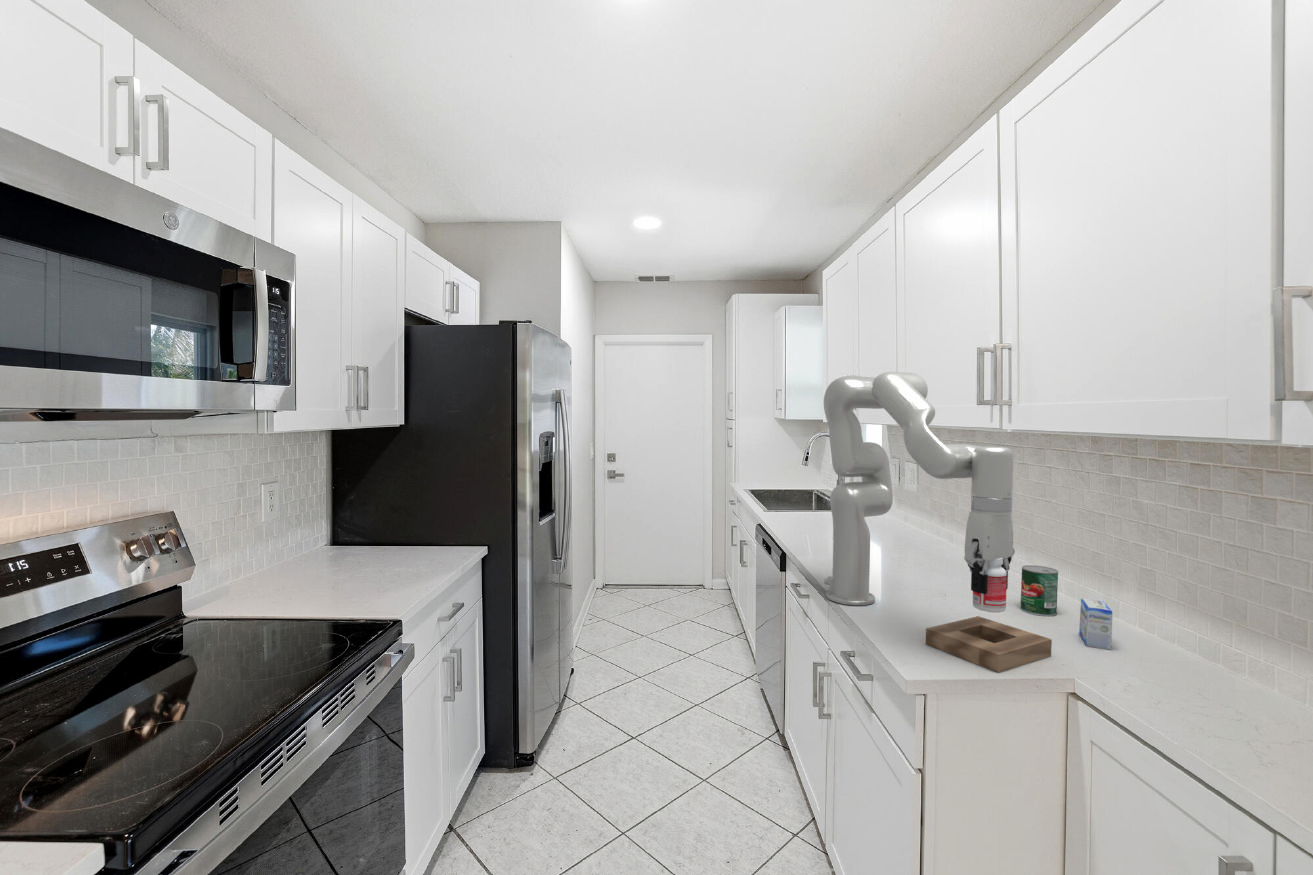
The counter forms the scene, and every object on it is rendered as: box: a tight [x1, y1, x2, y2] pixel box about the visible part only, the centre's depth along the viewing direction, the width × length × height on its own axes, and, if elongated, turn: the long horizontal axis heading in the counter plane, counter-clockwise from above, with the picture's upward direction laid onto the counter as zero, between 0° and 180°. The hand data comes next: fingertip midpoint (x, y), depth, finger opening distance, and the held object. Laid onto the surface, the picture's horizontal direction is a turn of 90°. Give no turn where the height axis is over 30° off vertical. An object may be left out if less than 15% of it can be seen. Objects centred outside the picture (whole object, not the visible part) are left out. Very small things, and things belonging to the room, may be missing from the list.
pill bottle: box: [972, 556, 1007, 614], centre depth 124 cm, size 6×6×11 cm
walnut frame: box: [925, 615, 1053, 674], centre depth 125 cm, size 16×18×4 cm
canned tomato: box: [1019, 564, 1059, 617], centre depth 151 cm, size 8×8×11 cm
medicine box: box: [1078, 597, 1113, 650], centre depth 130 cm, size 8×4×9 cm, turn 154°
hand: (989, 589), depth 124 cm, fingers closed on pill bottle, 6 cm apart
